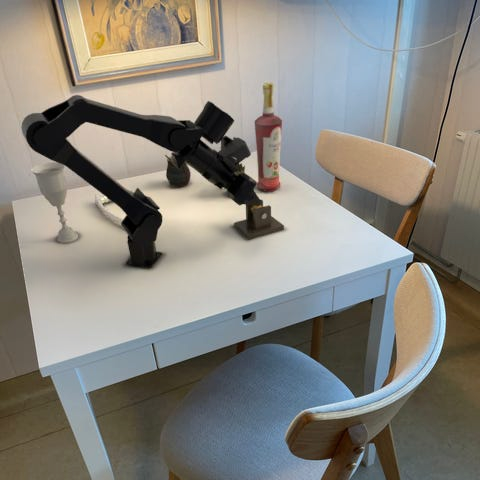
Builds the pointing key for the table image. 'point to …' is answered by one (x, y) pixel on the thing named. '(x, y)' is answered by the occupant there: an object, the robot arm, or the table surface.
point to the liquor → (268, 143)
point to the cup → (239, 170)
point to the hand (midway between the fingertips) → (251, 197)
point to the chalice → (55, 194)
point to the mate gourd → (177, 174)
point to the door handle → (99, 202)
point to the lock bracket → (258, 222)
